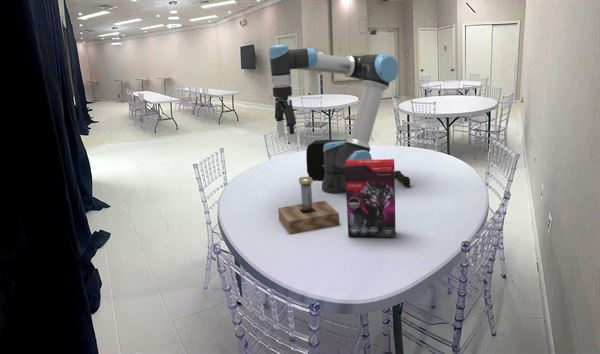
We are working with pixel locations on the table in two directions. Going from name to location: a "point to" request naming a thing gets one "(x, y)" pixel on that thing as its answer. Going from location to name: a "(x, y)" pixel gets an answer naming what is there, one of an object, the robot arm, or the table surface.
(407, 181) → the hand tool
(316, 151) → the black hard case
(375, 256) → the table surface
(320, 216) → the hole block
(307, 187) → the pin
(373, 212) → the graphics card box
